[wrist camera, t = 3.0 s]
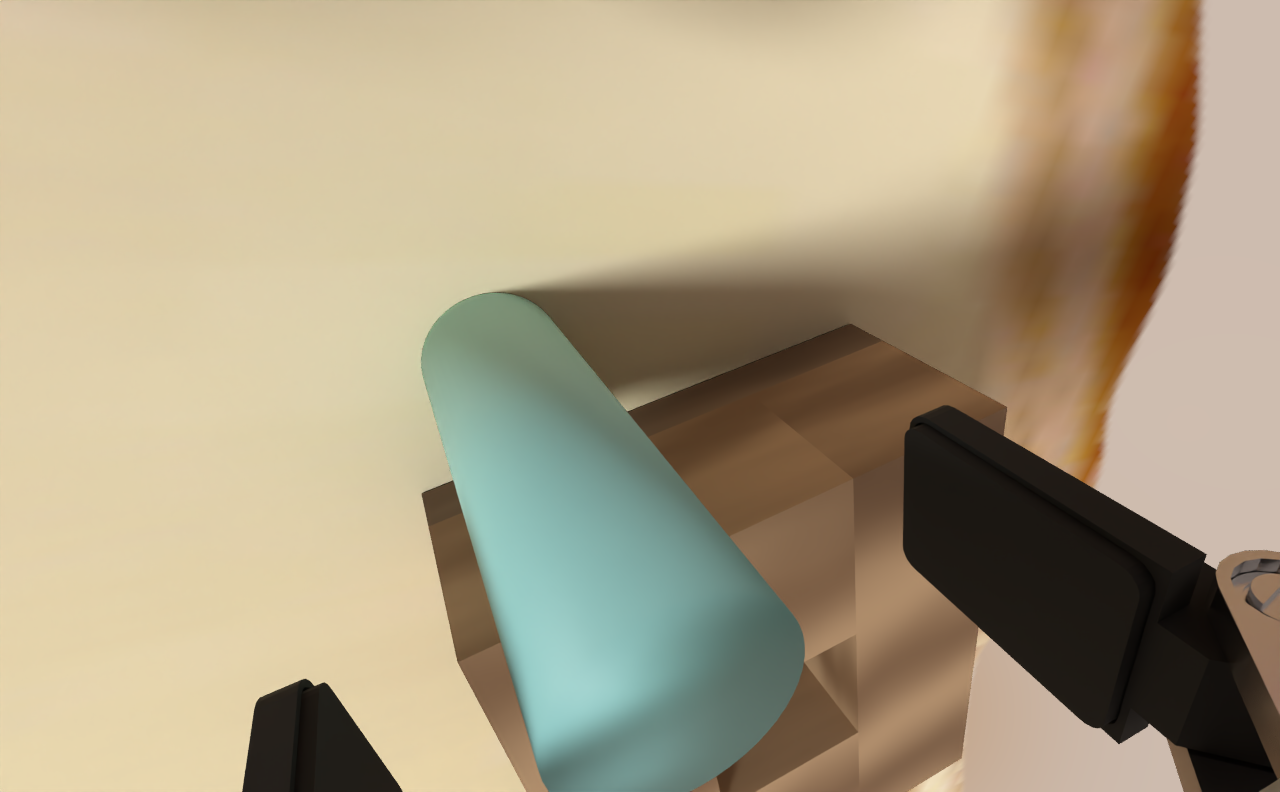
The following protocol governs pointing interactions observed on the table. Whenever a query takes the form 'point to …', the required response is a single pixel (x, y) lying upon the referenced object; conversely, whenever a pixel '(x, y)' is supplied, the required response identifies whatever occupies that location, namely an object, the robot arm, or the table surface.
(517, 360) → the pin
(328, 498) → the table surface
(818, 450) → the block
